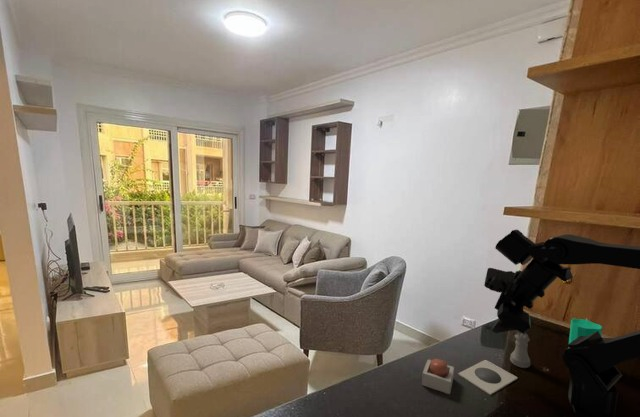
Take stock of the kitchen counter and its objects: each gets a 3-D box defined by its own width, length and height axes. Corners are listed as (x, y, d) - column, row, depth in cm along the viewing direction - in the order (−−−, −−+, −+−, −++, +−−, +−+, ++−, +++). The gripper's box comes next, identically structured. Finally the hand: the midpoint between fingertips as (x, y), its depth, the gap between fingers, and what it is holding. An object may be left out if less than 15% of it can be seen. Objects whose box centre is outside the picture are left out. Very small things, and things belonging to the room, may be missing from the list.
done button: (447, 371, 72) (448, 361, 72) (445, 380, 69) (445, 370, 69) (431, 366, 74) (432, 357, 74) (428, 374, 71) (429, 365, 71)
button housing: (453, 378, 73) (454, 367, 73) (449, 394, 68) (450, 382, 68) (427, 370, 76) (427, 359, 76) (422, 385, 71) (422, 372, 71)
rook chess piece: (532, 363, 79) (535, 334, 78) (527, 371, 76) (530, 341, 75) (512, 356, 82) (515, 327, 81) (507, 362, 79) (509, 333, 78)
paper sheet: (485, 360, 80) (485, 359, 80) (517, 378, 73) (517, 377, 73) (458, 374, 75) (458, 372, 75) (490, 395, 68) (490, 393, 68)
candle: (603, 370, 76) (609, 324, 75) (575, 367, 77) (580, 322, 76) (587, 356, 82) (592, 313, 80) (562, 353, 83) (566, 311, 82)
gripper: (501, 243, 81) (470, 282, 89) (496, 280, 66) (459, 323, 75) (545, 266, 77) (508, 305, 86) (550, 311, 63) (505, 353, 71)
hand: (495, 319), depth 79 cm, fingers open, 9 cm apart
